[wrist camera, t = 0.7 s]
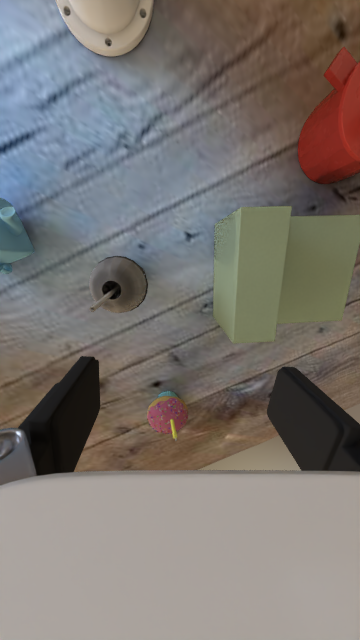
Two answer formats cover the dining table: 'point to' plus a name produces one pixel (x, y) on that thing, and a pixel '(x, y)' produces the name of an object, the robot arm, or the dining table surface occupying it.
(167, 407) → the cupcake
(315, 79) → the dining table surface
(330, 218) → the green step stand
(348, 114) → the lid
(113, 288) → the beverage cup
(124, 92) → the dining table surface
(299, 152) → the pot
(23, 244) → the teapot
